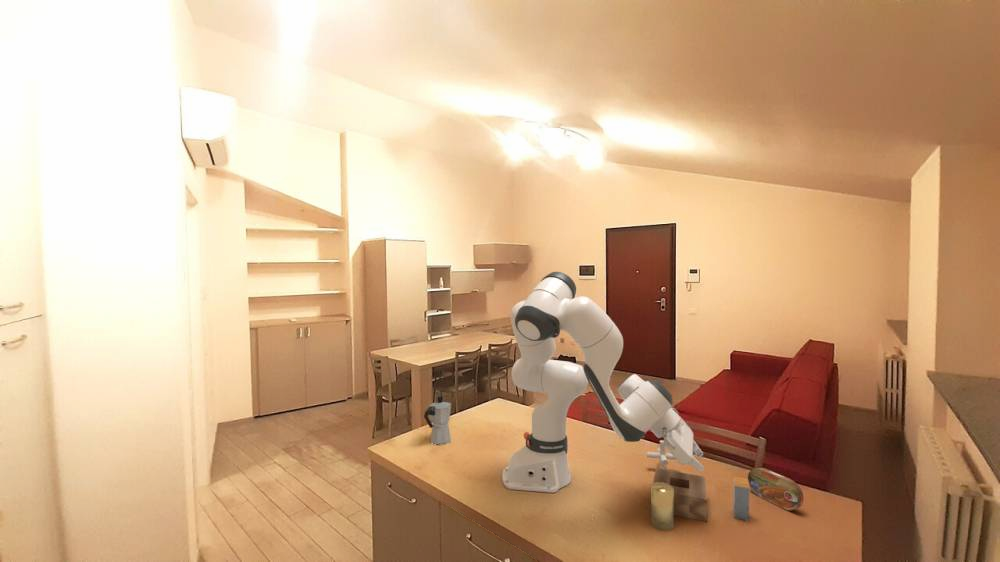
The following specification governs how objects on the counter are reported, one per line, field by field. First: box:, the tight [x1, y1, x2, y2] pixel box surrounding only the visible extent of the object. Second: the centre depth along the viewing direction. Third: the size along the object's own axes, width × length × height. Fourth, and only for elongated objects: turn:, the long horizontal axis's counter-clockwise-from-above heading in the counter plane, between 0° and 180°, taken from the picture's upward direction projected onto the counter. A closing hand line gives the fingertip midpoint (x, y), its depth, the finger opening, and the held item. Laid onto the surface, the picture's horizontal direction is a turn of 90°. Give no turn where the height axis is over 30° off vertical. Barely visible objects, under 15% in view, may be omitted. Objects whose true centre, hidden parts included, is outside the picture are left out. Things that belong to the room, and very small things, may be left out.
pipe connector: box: [646, 439, 677, 470], centre depth 144 cm, size 10×10×10 cm
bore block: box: [652, 467, 708, 522], centre depth 124 cm, size 14×14×6 cm
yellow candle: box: [650, 482, 675, 531], centre depth 114 cm, size 6×6×10 cm
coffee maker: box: [423, 395, 452, 446], centre depth 170 cm, size 15×9×18 cm, turn 144°
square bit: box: [732, 476, 750, 522], centre depth 117 cm, size 4×4×10 cm
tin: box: [747, 467, 804, 511], centre depth 124 cm, size 15×3×8 cm, turn 24°
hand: (701, 462), depth 120 cm, fingers open, 8 cm apart
